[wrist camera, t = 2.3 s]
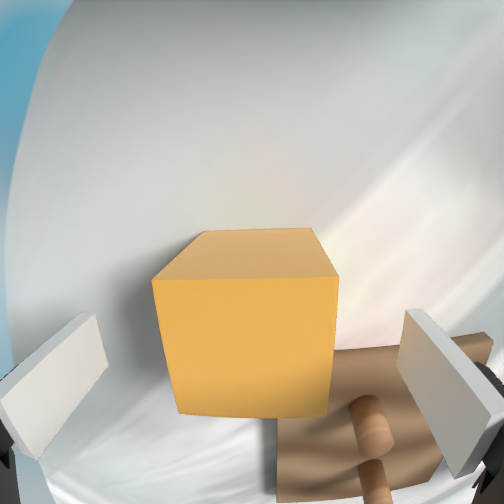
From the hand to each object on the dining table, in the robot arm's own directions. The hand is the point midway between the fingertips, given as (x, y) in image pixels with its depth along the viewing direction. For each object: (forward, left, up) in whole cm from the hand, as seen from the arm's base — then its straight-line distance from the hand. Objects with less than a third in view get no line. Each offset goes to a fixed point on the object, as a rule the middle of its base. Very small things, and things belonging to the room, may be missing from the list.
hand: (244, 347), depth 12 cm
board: (+14, +9, -7) cm, 18 cm away
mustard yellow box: (0, 0, -7) cm, 7 cm away
